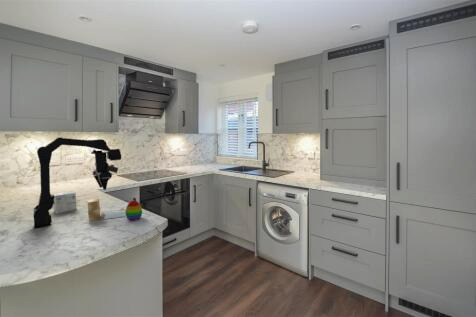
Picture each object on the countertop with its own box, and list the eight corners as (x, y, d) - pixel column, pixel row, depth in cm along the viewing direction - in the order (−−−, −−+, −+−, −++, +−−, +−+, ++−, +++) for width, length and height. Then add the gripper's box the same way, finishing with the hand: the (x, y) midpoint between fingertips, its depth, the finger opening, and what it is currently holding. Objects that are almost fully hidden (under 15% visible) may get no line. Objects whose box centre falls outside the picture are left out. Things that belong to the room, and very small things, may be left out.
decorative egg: (123, 219, 133) (122, 201, 132) (137, 215, 139) (136, 198, 138) (130, 222, 128) (129, 203, 127) (145, 218, 134) (144, 200, 133)
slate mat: (100, 220, 132) (100, 217, 132) (101, 215, 141) (101, 212, 141) (126, 216, 138) (125, 213, 138) (125, 211, 147) (125, 209, 147)
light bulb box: (73, 207, 158) (72, 190, 157) (77, 209, 154) (76, 192, 153) (53, 211, 150) (51, 194, 149) (56, 213, 146) (55, 195, 145)
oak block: (88, 220, 132) (87, 202, 131) (90, 217, 137) (88, 199, 136) (99, 219, 134) (98, 201, 133) (100, 216, 139) (99, 198, 138)
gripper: (121, 161, 140) (122, 188, 141) (112, 159, 154) (113, 184, 155) (98, 163, 132) (100, 191, 134) (91, 160, 147) (93, 187, 148)
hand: (102, 188), depth 143 cm, fingers open, 9 cm apart
